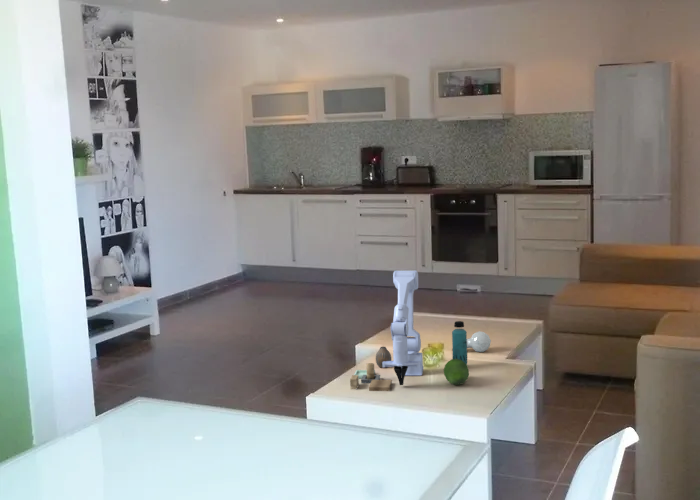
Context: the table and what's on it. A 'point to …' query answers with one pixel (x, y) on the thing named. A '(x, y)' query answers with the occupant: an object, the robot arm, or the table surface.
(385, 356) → the vase
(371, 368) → the dowel
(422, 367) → the robot arm
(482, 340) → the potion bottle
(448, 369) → the fruit
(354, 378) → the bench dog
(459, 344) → the beverage bottle
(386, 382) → the board
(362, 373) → the tray
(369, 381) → the collar
